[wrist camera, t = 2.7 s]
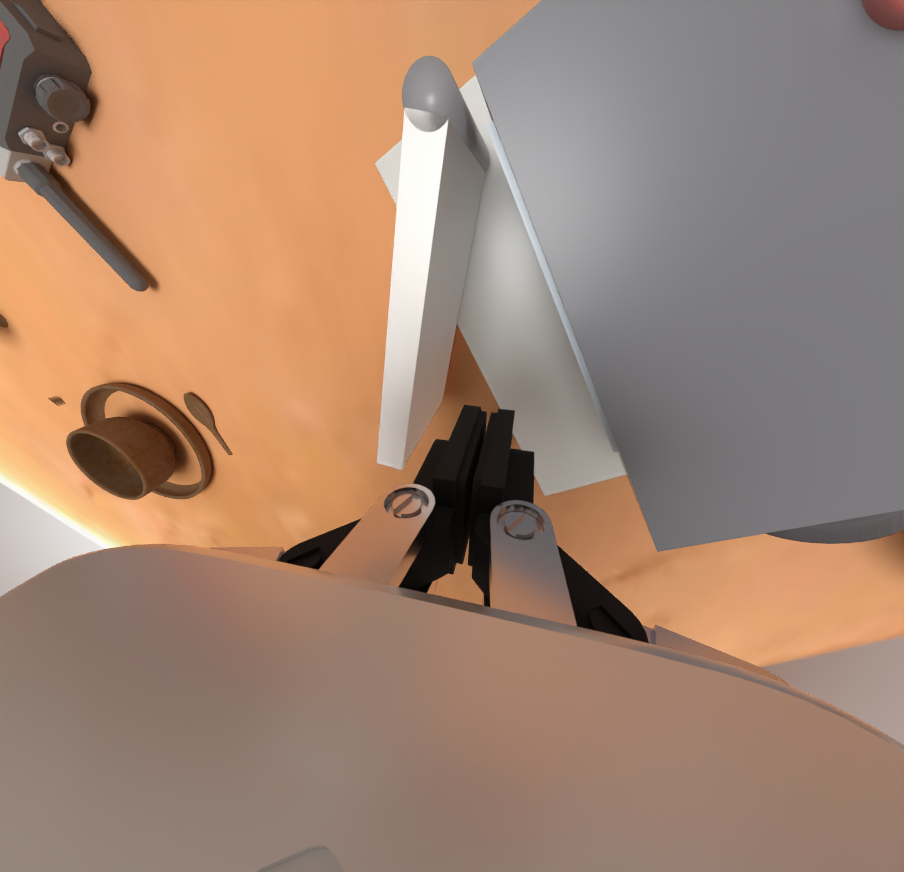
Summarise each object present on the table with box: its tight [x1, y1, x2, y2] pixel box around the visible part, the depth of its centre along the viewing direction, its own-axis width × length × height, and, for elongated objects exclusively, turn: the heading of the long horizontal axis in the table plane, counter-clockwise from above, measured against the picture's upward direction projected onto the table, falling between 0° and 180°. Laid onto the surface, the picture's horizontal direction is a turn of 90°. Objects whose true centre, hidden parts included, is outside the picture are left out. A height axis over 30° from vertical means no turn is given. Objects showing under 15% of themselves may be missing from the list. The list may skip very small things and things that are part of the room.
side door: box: [377, 56, 490, 470], centre depth 15 cm, size 13×1×8 cm, turn 169°
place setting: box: [0, 314, 233, 500], centre depth 27 cm, size 18×20×6 cm
